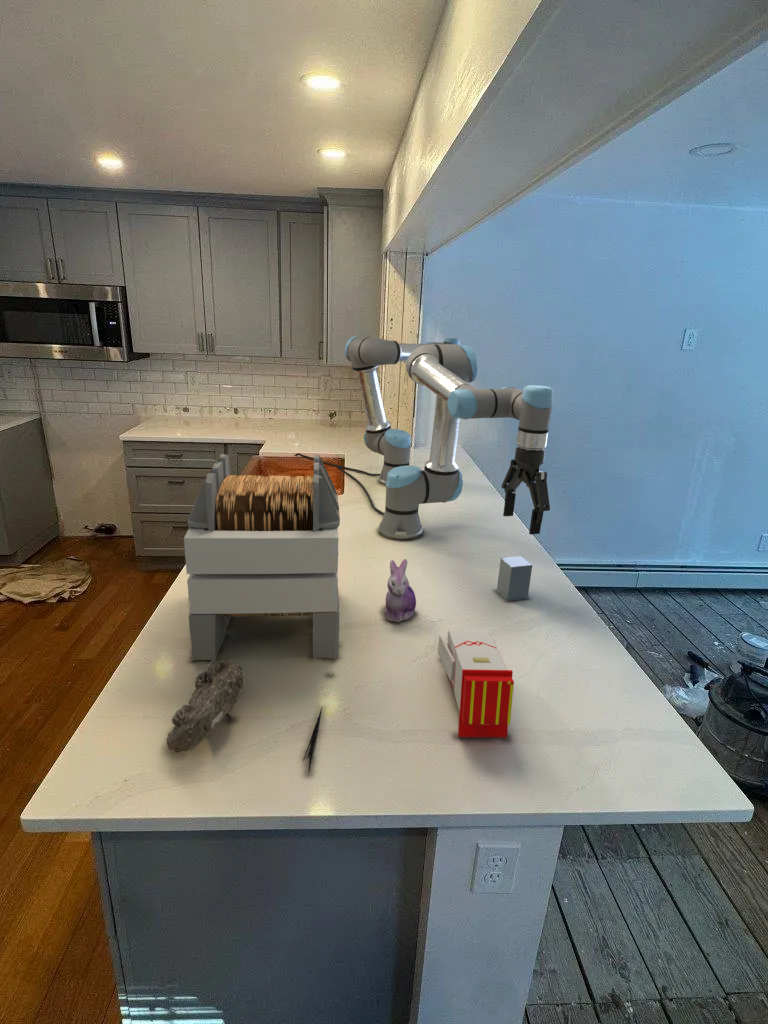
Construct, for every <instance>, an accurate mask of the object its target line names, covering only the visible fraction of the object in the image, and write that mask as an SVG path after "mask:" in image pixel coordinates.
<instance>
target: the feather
mask: <svg viewBox="0 0 768 1024" xmlns="http://www.w3.org/2000/svg"><path fill="white" fill-rule="evenodd" d="M329 675H330V676H331V675H332V674H331V673H330V674H329ZM322 710H323V707H321V708H320V710H319V713H318V716H317V719H316V723H315V725H314V728H313V731H312V733H311V737H310V739H309V742H308V745H307V748H306V751H305V754H304V757H303V760H302V763H301V767H302V765H303V763H304V761H305V758H308V759H309V760H308V762H307V763H308V764H307V766H308V771H310V770H311V766H312V765H311V764H312V760H313V757H315V756H314V755H315V751H316V749H315V746H317V739H318V733H319V729H320V722H321V717H322V712H323V711H322ZM313 754H314V755H313ZM306 755H307V757H306Z"/></svg>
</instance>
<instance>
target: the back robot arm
mask: <svg viewBox="0 0 768 1024" xmlns="http://www.w3.org/2000/svg"><path fill="white" fill-rule="evenodd" d="M427 344H433V345H461V340H460V338H456V337H445V338H444V340H443V342H440V341H439V342H438V341H436V342H434V341H429V342H428V341H427V342H424V343H409V342H408V343H406V342H404V343H402V342H401V343H399V342H398V341H397V340H389V339H383V338H380V337H377V336H368V335H367V336H366V335H364V334H363V335H362V334H360V335H359V334H358V335H353V336H351V337H350V338H349V339H348V340H347V341H346V343H345V346H344V355H345V358H346V359H347V360H348V361H349V362H350V364H351V367H352V371H353V372H355V373H356V374H357V380H358V384H359V388H360V393H361V398H362V403H363V407H364V408H363V409H364V412H365V416H366V421H367V424H366V426H365V433H364V434H363V442H364V445H365V446H366V448H367V449H368V450H370V451H371V452H373V453H376V454H379V455H381V456H383V465H382V468H381V470H380V473H372V472H371V473H370V472H368V471H365V470H361V469H357V468H353V467H352V468H351V467H348V466H343V465H338V464H335V463H331V462H326V461H323V460H322V462H323V464H324V465H326V466H329V467H330V466H331V467H334V468H337V467H339V468H341V469H343V470H347V471H352V472H356V473H357V472H358V473H362V474H364V475H367V476H371V477H378V482H379V484H381V485H383V486H386V481H387V474H388V472H389V471H390V470H391V469H393V468H396V467H400V466H410V461H411V460H410V459H411V445H412V437H411V436H412V435H411V434H410V433H409V432H408V431H406V430H403V429H398V428H392V426H391V422H390V421H389V420H388V419H387V416H386V413H385V407H384V403H383V397H382V391H381V387H380V382H379V381H380V380H379V377H378V372H377V369H378V368H379V366H387V365H397V364H398V363H407V359H408V357H409V355H410V354H411V353H412V351H414V350H415V349H416V348H418V347H420V346H422V345H427ZM293 456H294V457H297V456H300V457H303V458H305V459H308V460H310V461H314V457H311V456H308V455H305V454H303V453H299V452H298V453H295V454H294V455H293Z"/></svg>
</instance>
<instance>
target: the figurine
mask: <svg viewBox="0 0 768 1024" xmlns="http://www.w3.org/2000/svg"><path fill="white" fill-rule="evenodd" d="M407 567H408V559H406V558H404V559H403V560H402V561H401V563H400V565H399V566H398V565H397V563H396V562H395V561H394V560H393V559H391V560H390V561H389V570H390V576H389V578H388V579H387V589H388V591H387V592H386V594H385V595H386V596H385V607H384V615H385V616H386V620H387V621H391V622H395V623H400V622H402V621H406V620H409V619H410V618H411V617H413V616H414V615H415V610H416V606H417V597H416V593H415V591H414V590H413V587H411V586H410V582H409V579H408V577H407V574H406V571H407Z"/></svg>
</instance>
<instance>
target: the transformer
mask: <svg viewBox="0 0 768 1024" xmlns="http://www.w3.org/2000/svg"><path fill="white" fill-rule="evenodd" d="M313 458H314V460H313V473H312V474H313V475H307V476H303V475H296V476H294V475H293V476H291V475H268V476H267V475H265V476H263V475H251V474H250V475H236V474H233V475H232V474H231V469H230V457H229V454H228V453H226V454H225V453H220V455H219V457H218V459H217V461H214V464H213V466H212V468H211V471H210V472H208V473H207V474H206V476H205V479H204V481H203V483H202V485H201V488H200V490H199V492H198V495H197V497H196V500H195V502H194V503H193V506H192V508H191V510H190V513H189V516H188V518H187V527H188V530H187V532H186V534H185V535H184V537H183V545H184V556H185V570H186V575H188V578H187V580H186V581H187V582H186V583H187V591H188V592H187V593H188V594H187V595H188V605H189V606H188V608H189V612H188V622H189V623H188V625H189V637H190V644H191V654H192V656H191V660H192V661H195V662H199V661H212V660H216V658H217V655H218V653H219V651H220V649H221V647H222V644H223V643H224V640H225V638H226V627H229V623H230V620H231V617H250V616H251V617H280V616H282V617H284V616H285V617H286V616H296V617H297V616H312V658H313V659H318V658H319V659H320V658H321V659H324V658H327V659H336V658H337V657H339V656H340V599H339V577H338V573H339V572H338V571H339V530H338V529H339V527H340V525H341V524H340V522H341V516H340V515H341V514H340V506H339V505H340V504H339V497H338V491H337V489H336V487H335V485H334V483H333V481H332V479H331V477H330V474H329V472H328V470H327V468H326V466H325V464H323V462H322V461H323V459H322V458H321V456H320V454H313Z"/></svg>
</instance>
